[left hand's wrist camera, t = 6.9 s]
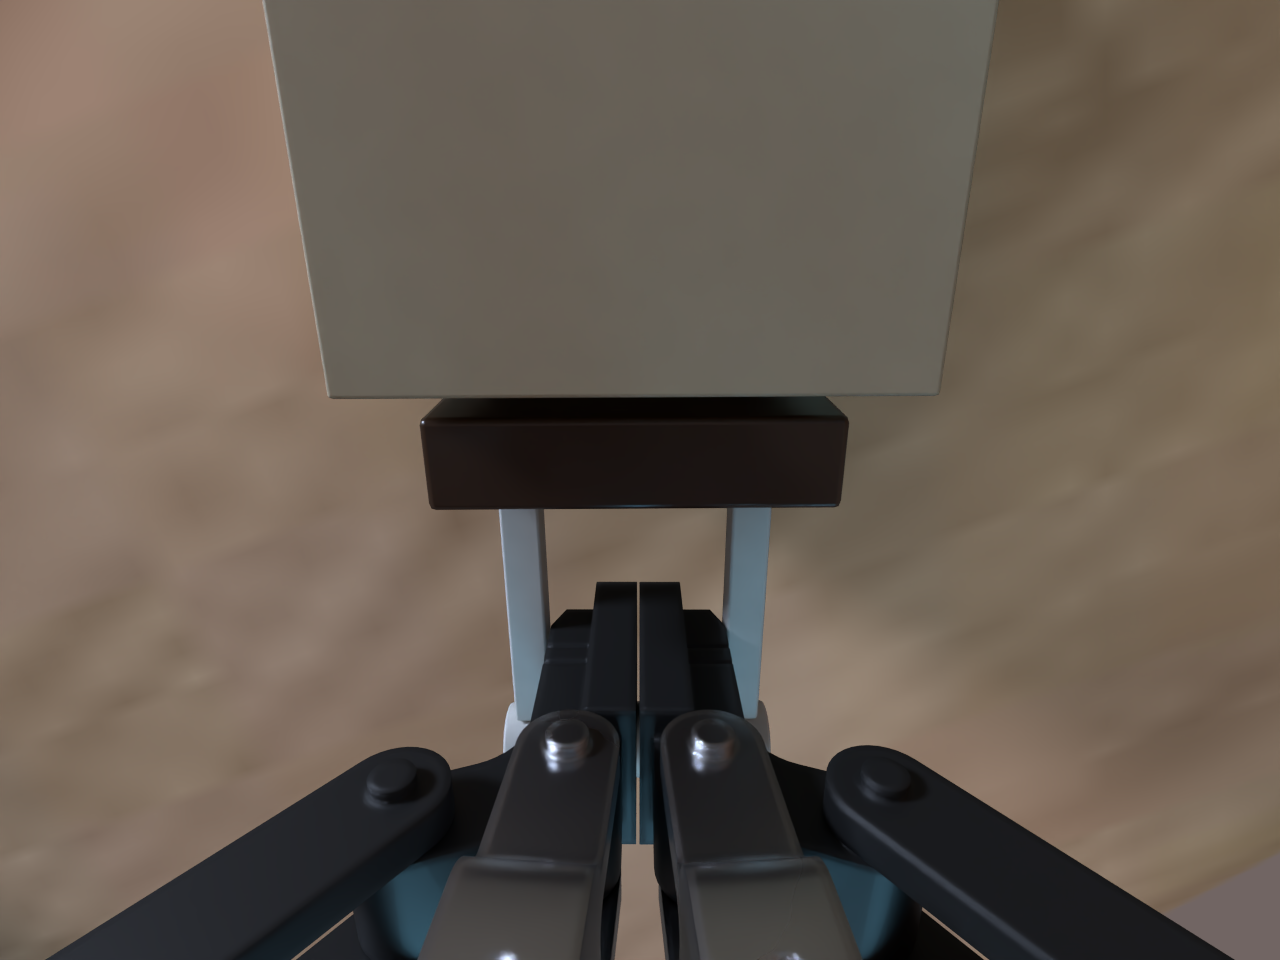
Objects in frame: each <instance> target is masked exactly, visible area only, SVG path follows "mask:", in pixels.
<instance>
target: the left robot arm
mask: <svg viewBox="0 0 1280 960" xmlns="http://www.w3.org/2000/svg"><path fill="white" fill-rule="evenodd" d="M636 764H637V582H597V584H596V592H595V600H594V609H567V610H566V611H565V612H564V613H563V614H562V615H561V616H560V617H559V618H558V619H557V620H556V621H555V622H554V623H553V624H552V625H551V629H550V634H549V639H548V643H547V648H546V652H545V657H544V664H543V666H542V671H541V675H540V680H539V684H538V689H537V693H536V698H535V703H534V707H533V712H532V716H531V721H530V723H529V724H528V725H527V726H526V727H525V728H524V729H523V730H522V732H521V733H520V734H519V736H518V738H517V740H516V743H515V746H513V747H512V748H511V749H509V750H508V751H506V752H505V753H503V754H501V755H499V756H498V757H495V758H493V759H491V760H488V761H485V762H482V763H479V764H475V765H471V766H467V767H462V768H458V769H454V770H450V767H449V765H448V763H447V762H446V760H445V759H444V758H443V757H442V756H441V755H439V754H437V753H436V752H434V751H431V750H428V749H425V748H419V747H401V748H395V749H390V750H387V751H383V752H380V753H378V754H375V755H373V756H371V757H369V758H367V759H365V760H363V761H362V762H360V763H358V764H357V765H355V766H354V767H352V768H350V769H349V770H347V771H346V772H344V773H343V774H341V775H339V776H338V777H336V778H335V779H333V780H331V781H330V782H328V783H327V784H325V785H323V786H322V787H320V788H319V789H317V790H315V791H314V792H312V793H311V794H309V795H307V796H306V797H304V798H303V799H301V800H299V801H298V802H296V803H295V804H293V805H291V806H290V807H288V808H287V809H285V810H284V811H282V812H280V813H279V814H277V815H276V816H274V817H272V818H271V819H269V820H268V821H266V822H264V823H263V824H261V825H260V826H258V827H256V828H255V829H253V830H252V831H250V832H248V833H247V834H245V835H244V836H242V837H240V838H239V839H237V840H236V841H234V842H232V843H231V844H229V845H228V846H226V847H224V848H223V849H221V850H220V851H218V852H217V853H215V854H213V855H212V856H210V857H209V858H207V859H205V860H204V861H202V862H201V863H199V864H197V865H196V866H194V867H193V868H191V869H189V870H188V871H186V872H185V873H183V874H181V875H180V876H178V877H177V878H175V879H173V880H172V881H170V882H169V883H167V884H165V885H164V886H162V887H161V888H159V889H157V890H156V891H154V892H153V893H151V894H150V895H148V896H146V897H145V898H143V899H142V900H140V901H138V902H137V903H135V904H134V905H132V906H130V907H129V908H127V909H126V910H124V911H122V912H121V913H119V914H118V915H116V916H114V917H113V918H111V919H110V920H108V921H106V922H105V923H103V924H102V925H100V926H98V927H97V928H95V929H94V930H92V931H91V932H89V933H87V934H86V935H84V936H83V937H81V938H79V939H78V940H76V941H75V942H73V943H71V944H70V945H68V946H67V947H65V948H63V949H62V950H60V951H59V952H57V953H55V954H54V955H52V956H51V957H49V958H47V959H46V960H291V959H292V958H294V957H295V956H296V955H297V954H299V953H300V952H301V951H302V950H304V949H305V948H306V947H307V946H309V945H310V944H311V943H313V942H314V941H315V940H316V939H318V938H319V937H320V936H321V935H323V934H324V933H325V932H326V931H328V930H329V929H330V928H331V927H333V926H334V925H335V924H337V923H338V922H339V921H340V920H342V919H343V918H344V917H345V916H347V915H348V914H349V913H350V912H352V911H353V913H354V914H353V915H352V916H351V917H349V918H348V919H347V920H346V921H344V922H343V923H342V924H341V925H339V926H338V927H337V928H335V929H334V930H333V931H332V932H330V933H329V934H328V935H327V936H325V937H324V938H323V939H322V940H320V941H319V942H318V943H317V944H315V945H314V946H313V947H312V948H310V949H309V950H308V951H307V952H305V953H304V954H303V955H302V956H300V957H299V958H298V959H297V960H615V951H616V942H617V933H618V924H619V915H620V906H621V853H622V844H636ZM640 844H654V870H655V876H656V879H657V882H658V884H659V906H660V915H661V924H662V933H663V942H664V951H665V960H983V959H982V958H981V957H980V956H978V955H977V954H976V953H975V952H973V951H972V950H971V949H970V948H968V947H967V946H966V945H965V944H963V943H962V942H961V941H960V940H958V939H957V938H956V937H955V936H953V935H952V934H951V933H950V932H948V931H947V930H946V929H945V928H943V927H942V926H941V925H940V924H938V923H937V922H936V921H934V920H933V919H932V918H931V917H929V916H928V915H927V914H926V913H924V912H923V911H922V907H923V908H925V909H926V910H927V911H928V912H930V913H931V914H932V915H933V916H935V917H936V918H937V919H938V920H940V921H941V922H942V923H943V924H945V925H946V926H947V927H949V928H950V929H951V930H952V931H954V932H955V933H956V934H957V935H959V936H960V937H961V938H962V939H964V940H965V941H966V942H968V943H969V944H970V945H971V946H973V947H974V948H975V949H976V950H978V951H979V952H980V953H981V954H983V955H984V956H985V957H986V958H988V959H989V960H1234V959H1232V958H1231V957H1229V956H1228V955H1226V954H1225V953H1223V952H1221V951H1220V950H1218V949H1217V948H1215V947H1213V946H1212V945H1210V944H1209V943H1207V942H1205V941H1204V940H1202V939H1201V938H1199V937H1197V936H1196V935H1194V934H1193V933H1191V932H1190V931H1188V930H1186V929H1185V928H1183V927H1182V926H1180V925H1178V924H1177V923H1175V922H1174V921H1172V920H1170V919H1169V918H1167V917H1166V916H1164V915H1162V914H1161V913H1159V912H1158V911H1156V910H1154V909H1153V908H1151V907H1150V906H1148V905H1146V904H1145V903H1143V902H1142V901H1140V900H1138V899H1137V898H1135V897H1134V896H1132V895H1131V894H1129V893H1127V892H1126V891H1124V890H1123V889H1121V888H1119V887H1118V886H1116V885H1115V884H1113V883H1111V882H1110V881H1108V880H1107V879H1105V878H1103V877H1102V876H1100V875H1099V874H1097V873H1095V872H1094V871H1092V870H1091V869H1089V868H1087V867H1086V866H1084V865H1083V864H1081V863H1079V862H1078V861H1076V860H1075V859H1073V858H1071V857H1070V856H1068V855H1067V854H1065V853H1064V852H1062V851H1060V850H1059V849H1057V848H1056V847H1054V846H1052V845H1051V844H1049V843H1048V842H1046V841H1044V840H1043V839H1041V838H1040V837H1038V836H1036V835H1035V834H1033V833H1032V832H1030V831H1028V830H1027V829H1025V828H1024V827H1022V826H1020V825H1019V824H1017V823H1016V822H1014V821H1012V820H1011V819H1009V818H1008V817H1006V816H1005V815H1003V814H1001V813H1000V812H998V811H997V810H995V809H993V808H992V807H990V806H989V805H987V804H985V803H984V802H982V801H981V800H979V799H977V798H976V797H974V796H973V795H971V794H969V793H968V792H966V791H965V790H963V789H961V788H960V787H958V786H957V785H955V784H953V783H952V782H950V781H949V780H947V779H945V778H944V777H942V776H941V775H939V774H938V773H936V772H934V771H933V770H931V769H930V768H928V767H926V766H925V765H923V764H922V763H920V762H918V761H917V760H915V759H913V758H912V757H910V756H908V755H906V754H904V753H901V752H899V751H896V750H893V749H890V748H886V747H881V746H872V745H863V746H855V747H850V748H847V749H844V750H843V751H841V752H839V753H837V754H836V755H835V756H834V757H833V758H832V759H831V761H830V762H829V764H828V767H827V771H824V770H820V769H816V768H811V767H807V766H803V765H799V764H796V763H792V762H789V761H786V760H784V759H781V758H779V757H777V756H775V755H773V754H772V753H770V752H768V751H767V749H766V746H765V743H764V740H763V738H762V736H761V734H760V733H759V732H758V730H757V729H756V728H755V727H754V726H753V725H752V724H751V723H749V722H748V721H746V720H745V719H744V714H743V709H742V705H741V700H740V695H739V690H738V685H737V681H736V676H735V671H734V666H733V664H732V657H731V652H730V648H729V643H728V638H727V633H726V628H725V625H724V624H723V623H722V622H721V621H720V620H719V619H718V618H717V617H716V616H715V615H714V614H713V613H712V612H711V610H683V607H682V598H681V589H680V582H640Z"/></svg>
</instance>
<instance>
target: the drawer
mask: <svg viewBox="0 0 1280 960" xmlns="http://www.w3.org/2000/svg"><path fill="white" fill-rule="evenodd" d="M848 428H849V421H848V418H847V416H846V415H845V414H843V413H842V412H841V411H840V410H839V409H838V408H837V407H836V406H835V405H834V404H833V403H832V402H831V401H830V400H829V399H828V398H827V397H826V396H787V397H602V398H443V399H442V400H441V401H440V402H439V403H438V404H437V405H436V406H435V407H434V408H433V409H432V410H431V411H430V412H429V413H428V414H427V415H426V416H425V417H424V418H423V419H422V420H421V423H420V431H421V440H422V448H423V456H424V465H425V473H426V481H427V490H428V498H429V504H430V506H431V508H432V509H435V510H470V509H499V516H500V528H501V540H502V552H503V565H504V577H505V589H506V601H507V614H508V626H509V638H510V650H511V663H512V675H513V687H514V699H515V702H513V703H511V704H510V706H509V709H508V712H507V716H506V721H505V729H504V741H503V753H505V752H506V751H508V750H509V749H511V748H512V747H513V746H515V743H516V740H517V738H518V736H519V734H520V733H521V732H522V730H523V729H524V728H525V727H526V726H527V725H528V724H529V723H530V721H531V716H532V712H533V707H534V703H535V698H536V693H537V689H538V684H539V680H540V675H541V671H542V666H543V664H544V657H545V652H546V648H547V643H548V639H549V634H550V629H551V628H550V610H549V593H548V575H547V558H546V540H545V522H544V509H629V508H727V526H726V548H725V571H724V594H723V617H722V623H723V624H724V625H725V628H726V633H727V638H728V643H729V648H730V652H731V657H732V664H733V666H734V671H735V676H736V681H737V685H738V690H739V695H740V700H741V705H742V709H743V714H744V719H745V720H746V721H748V722H749V723H751V724H752V725H753V726H754V727H755V728H756V729H757V730H758V732H759V733H760V734H761V736H762V738H763V740H764V743H765V746H766V749H767V751H768V752H770V753H771V747H770V731H769V723H768V717H767V712H766V708H765V706H764V703H763V702H762V701H760V700H758V698H759V684H760V669H761V654H762V640H763V625H764V611H765V596H766V581H767V567H768V552H769V537H770V523H771V508H788V507H836V506H839V504H840V501H841V494H842V485H843V475H844V466H845V457H846V447H847V438H848ZM636 777H640V701H637V764H636Z"/></svg>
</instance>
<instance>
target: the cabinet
mask: <svg viewBox="0 0 1280 960" xmlns="http://www.w3.org/2000/svg"><path fill="white" fill-rule="evenodd" d="M262 1H263V7H264V13H265V19H266V25H267V31H268V37H269V43H270V49H271V55H272V62H273V68H274V74H275V80H276V86H277V92H278V98H279V104H280V110H281V116H282V122H283V128H284V134H285V140H286V146H287V152H288V158H289V164H290V170H291V176H292V182H293V188H294V195H295V201H296V207H297V213H298V219H299V225H300V231H301V237H302V243H303V249H304V255H305V261H306V267H307V273H308V279H309V285H310V291H311V297H312V303H313V309H314V315H315V322H316V328H317V334H318V340H319V346H320V352H321V358H322V364H323V370H324V376H325V382H326V388H327V394H328V397H329V398H332V399H416V398H602V397H787V396H935V395H938V394H939V392H940V387H941V380H942V374H943V367H944V361H945V354H946V347H947V341H948V334H949V328H950V321H951V314H952V308H953V301H954V294H955V288H956V281H957V275H958V268H959V261H960V255H961V248H962V242H963V235H964V228H965V222H966V215H967V209H968V202H969V195H970V189H971V182H972V175H973V169H974V162H975V156H976V149H977V142H978V136H979V129H980V123H981V116H982V109H983V103H984V96H985V89H986V83H987V76H988V70H989V63H990V56H991V50H992V43H993V37H994V30H995V23H996V17H997V10H998V4H999V0H262Z"/></svg>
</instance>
